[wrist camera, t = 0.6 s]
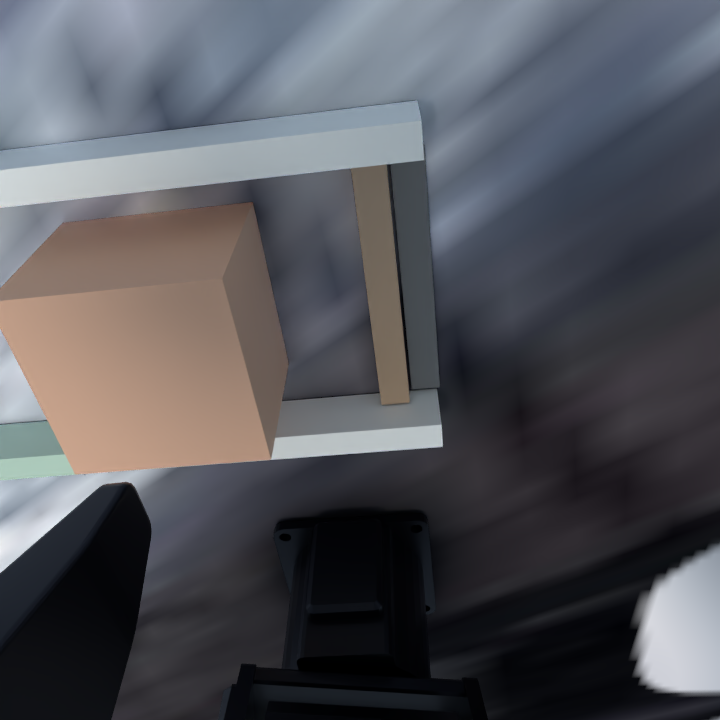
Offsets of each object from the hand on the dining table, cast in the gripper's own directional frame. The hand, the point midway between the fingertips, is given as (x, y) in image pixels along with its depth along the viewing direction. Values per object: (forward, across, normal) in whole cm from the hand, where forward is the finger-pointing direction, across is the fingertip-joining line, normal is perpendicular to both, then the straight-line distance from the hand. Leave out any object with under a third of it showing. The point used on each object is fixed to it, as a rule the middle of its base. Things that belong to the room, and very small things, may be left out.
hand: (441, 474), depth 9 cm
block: (+12, +8, +3) cm, 15 cm away
